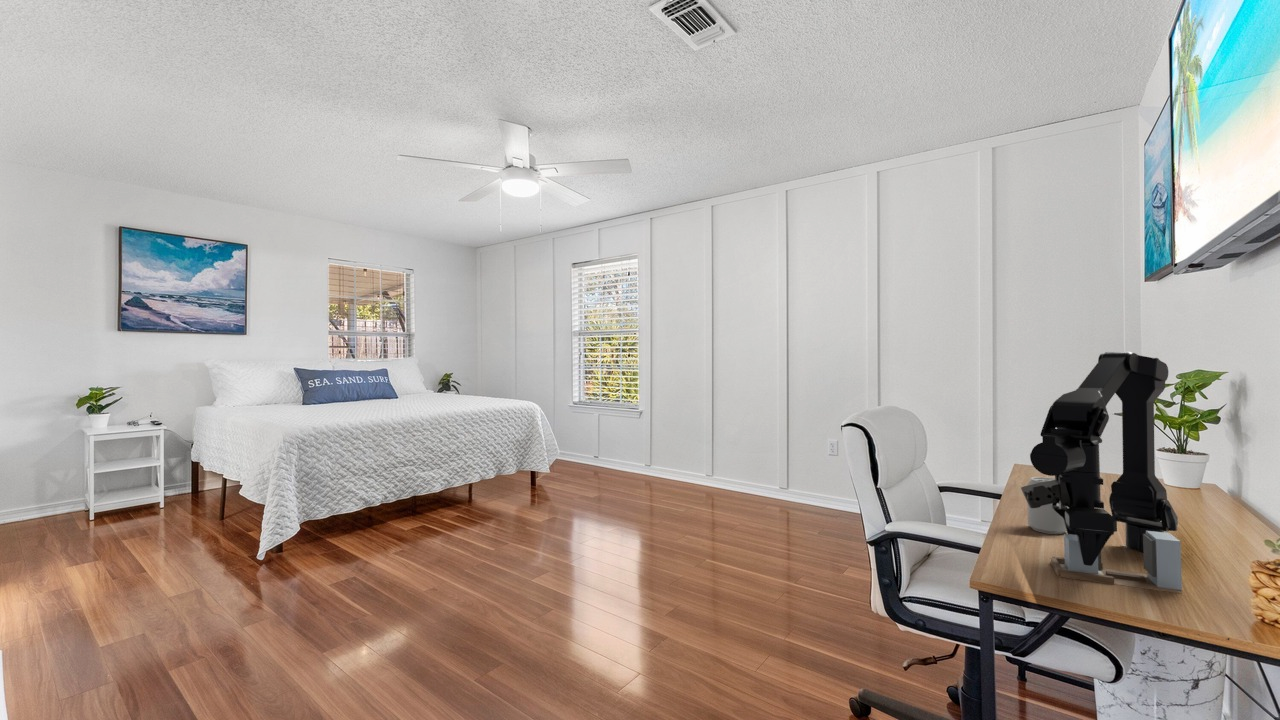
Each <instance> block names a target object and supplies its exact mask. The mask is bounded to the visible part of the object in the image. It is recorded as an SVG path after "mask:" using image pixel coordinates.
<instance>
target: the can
mask: <svg viewBox="0 0 1280 720" xmlns="http://www.w3.org/2000/svg"><path fill="white" fill-rule="evenodd" d="M1029 479H1030V481H1028V482H1027V484H1026V486H1028V485H1032V484H1036V483H1041V482H1046V481H1052V480H1055V477H1049V476H1048V477H1046V476H1032V477H1030V478H1029ZM1056 506H1057V503H1056ZM1027 524H1028V526H1029V527H1030V528H1031V529H1032V530H1034V531H1036V532H1039V533H1043V534H1049V535H1064V534H1065V532H1067V530H1066V527H1065V524H1064V520H1063V518H1062V517H1061V516H1060V515H1059V514H1058V513H1057V512H1056V511H1055V510H1054V509H1053V508H1052V505H1051V504H1047V505H1043V506H1040V507H1039V508H1030V506H1029V505H1028V504H1027Z"/></svg>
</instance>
